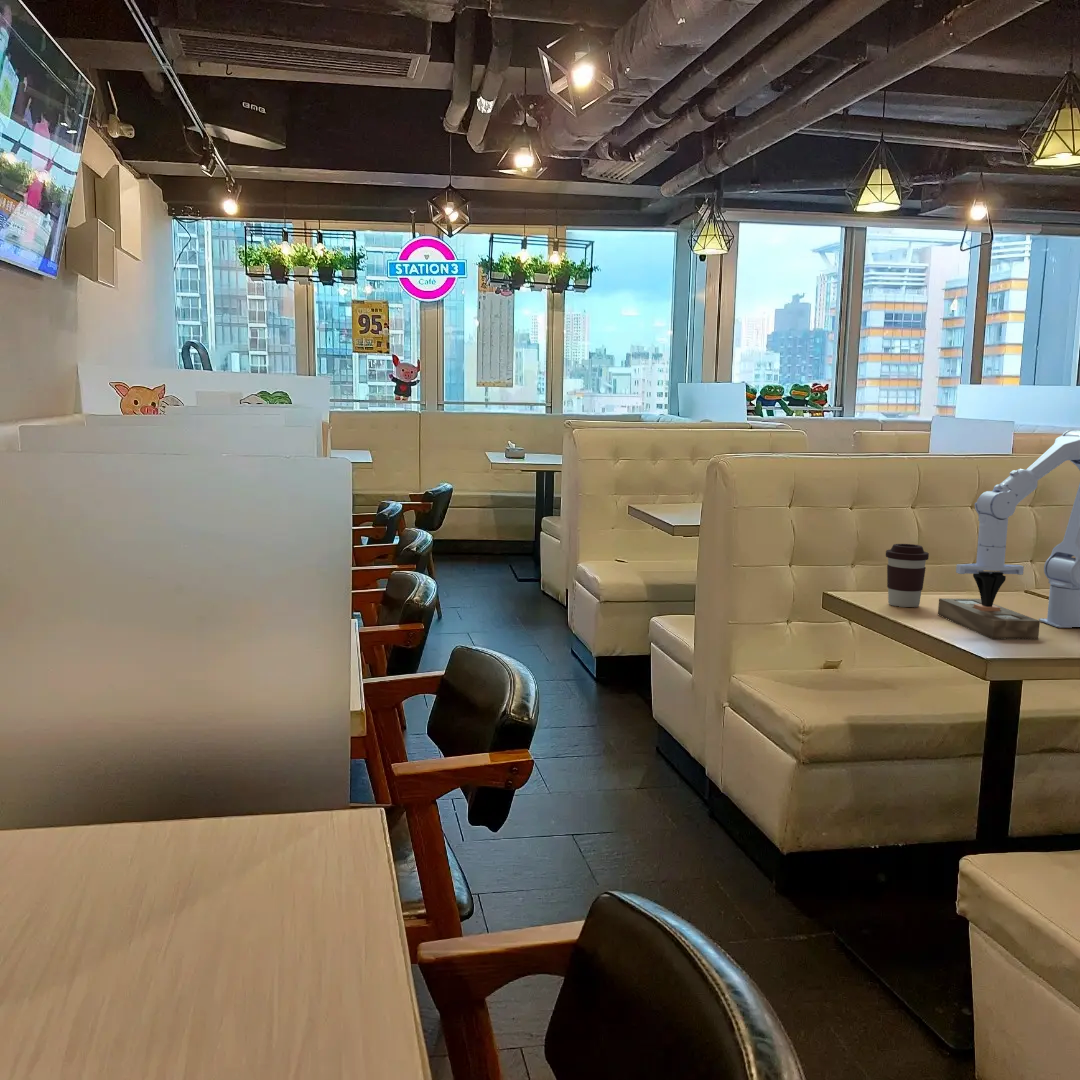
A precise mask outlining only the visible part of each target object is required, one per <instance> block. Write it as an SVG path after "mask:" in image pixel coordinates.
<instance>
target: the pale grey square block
mask: <svg viewBox="0 0 1080 1080" xmlns="http://www.w3.org/2000/svg"><path fill="white" fill-rule="evenodd" d="M993 616H996V617H998V618H1001V619H1019V618H1016V617H1013V616H1007V615H993Z"/></svg>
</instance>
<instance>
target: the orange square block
mask: <svg viewBox="0 0 1080 1080" xmlns="http://www.w3.org/2000/svg"><path fill="white" fill-rule="evenodd" d="M974 608H975V609H978V610H980V611H1000V607H997V606H995V605H992V607H986V606H983V605H982V604H974Z"/></svg>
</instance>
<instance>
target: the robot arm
mask: <svg viewBox="0 0 1080 1080" xmlns="http://www.w3.org/2000/svg"><path fill="white" fill-rule="evenodd" d="M1066 461H1070V462H1071V463H1072V464H1073V465H1075V466H1076V467H1077V469H1078V470H1079V471H1080V430H1077V429H1068V430H1065V431H1064V432H1063V433H1062V434H1061V435H1060V436H1058V437H1056V438H1055V440H1054V442H1053V444H1052V445H1051V446H1050V447H1049V448H1048V449H1047V450H1046V451H1045V452H1043V454H1042V455H1040V456H1039V457H1038V458H1037V459H1036V460H1035V461H1034V462H1032V464H1030V465H1029V466H1028V467H1027V468H1026V469H1024V468H1017V469H1016V470H1015V469H1013V470H1011V471H1010V472H1009V476H1007V478H1005V479H1004V480H1003V481H1001V482H1000V483H999V484H995V485H994V486H993V489H992V490H986V491H983V493H981V494H980V495H979V497H978V498H977V500H976V502H974V510H975V511H976V513H977V515H978V518H977V519H978V520H977V521H978V522H979V525H978V537H977V538H978V539H977V549H976V562H975V563H957V564H956V568H955V573H956V574H960V575H965V574H966V575H968V574H969V575H970V574H972V576H973V578H974V581H975V583H976V585H977V588H978V592H979V595H980V599H981V602H982V605H983V606H986V607H992V605H993V604H994V601H995V598H996V596H997V595H998V594H997V593H998V592H999V590H1000V589H1001V587H1002V585H1003V584H1004V583H1005V581H1006V577H1007V576H1006V575H1017V576H1018V575H1019V576H1020V575H1021V576H1022V575H1024V567H1025V566H1023V565H1020V564H1005V563H1006V562H1005V561H1006V551H1007V550H1006V549H1007V538H1008V537H1007V536H1008V525H1009V517H1011V516H1013V515H1014V514H1015V512H1016V508H1017V506H1018V505H1019V503H1020V502H1021V501H1023V500H1024V499H1025V498H1027V496H1029V495H1030V494H1032V493H1034V491H1035V490H1036V489H1037V488H1038V484H1039V483H1038V481H1039V480H1041V479H1042V478H1043V477H1045V476H1046V475H1048V474H1049V473H1050V472H1052V471H1053V470H1055V469H1056V468H1057V467H1059V466H1060V465H1062V464H1063V463H1065V462H1066ZM1077 488H1078V489H1077V491H1076V495H1075V498H1074V501H1073V505H1072V509H1071V512H1070V515H1069V519H1068V523H1067V526H1066V528H1065V533H1064V536H1063V539H1062V541H1061V542H1060V543H1058V544H1056V545H1055V546H1054V547H1053V548H1052V550H1051V553H1050V555H1049V557H1048V558H1047V559H1046V560H1045V562H1044V565H1043V573H1044V575H1045V577H1046V578H1047V579H1048V584H1050V585H1049V595H1048V604H1047V614H1046V615H1047V616H1046V618H1038V620H1039V621H1040V622H1041V623H1045V624H1048V625H1050V626H1053V627H1056V628H1061V629H1062V628H1065V629H1066V628H1069V629H1070V628H1072V627H1080V483H1079V485H1078V487H1077ZM1072 629H1073V628H1072Z"/></svg>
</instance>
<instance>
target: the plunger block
mask: <svg viewBox="0 0 1080 1080" xmlns="http://www.w3.org/2000/svg"><path fill="white" fill-rule="evenodd" d="M957 601H974V602H977V603H979V604H982V602H981V598H940V597H939V598H938V607H937V615H938V614H939V615H941V616H943V617H944V618H943V617H942V618H943V619H945V618H947V619H946V620H948V619H949V620H948V621H950V620H951V621H950V622H952V621H953V622H952V623H956V624H957V625H959V624H960V625H959V626H961V625H962V627H964V628H967V629H968V628H969V630H970V631H973V632H975V631H976V633H977V632H978V634H980V633H981V634H980V635H982V634H983V635H982V636H984V635H985V637H987V638H989V639H991V638H992V639H991V640H1039V635H1040V623H1041V621H1039V619H1036V618H1033V617H1031V616H1028V615H1025V614H1022V613H1020V612H1017V611H1013V610H1011V609H1009V608H1006V607H1003V606H1001V605H998V604H996V603H993V605H995V606H997V607H1000V611H980V610H978V609H975V608H974V604H962V603H960V602H957ZM939 615H938V616H939ZM993 615H1007V616H1013V617H1016V618H1019V619H1001V618H998V617H996V616H993ZM941 616H940V617H941Z"/></svg>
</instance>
